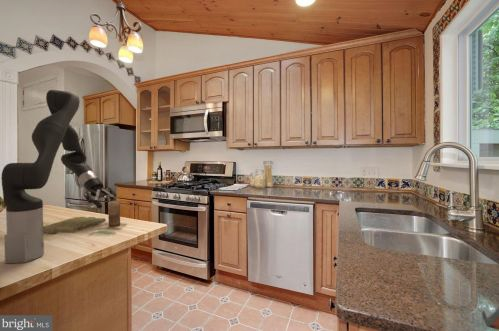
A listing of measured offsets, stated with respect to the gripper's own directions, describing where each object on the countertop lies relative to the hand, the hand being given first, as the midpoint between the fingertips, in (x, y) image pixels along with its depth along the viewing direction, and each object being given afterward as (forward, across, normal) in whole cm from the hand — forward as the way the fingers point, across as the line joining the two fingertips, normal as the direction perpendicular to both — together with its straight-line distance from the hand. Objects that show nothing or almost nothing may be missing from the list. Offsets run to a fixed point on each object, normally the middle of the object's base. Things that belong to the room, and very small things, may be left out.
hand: (108, 205), depth 116 cm
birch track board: (+12, -5, +3) cm, 13 cm away
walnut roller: (+9, 0, +4) cm, 10 cm away
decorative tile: (-2, -6, +18) cm, 19 cm away
